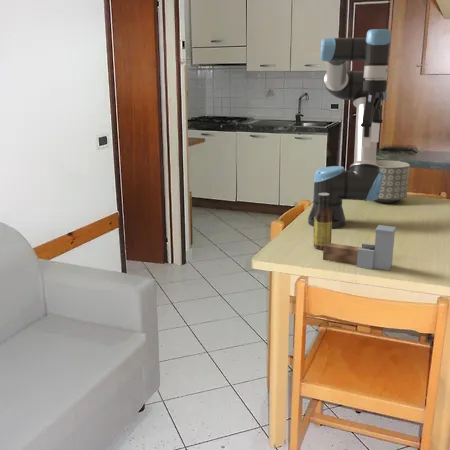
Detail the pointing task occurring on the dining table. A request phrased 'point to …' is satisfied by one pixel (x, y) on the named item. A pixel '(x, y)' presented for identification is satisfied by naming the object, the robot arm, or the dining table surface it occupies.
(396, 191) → the planter
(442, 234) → the dining table surface
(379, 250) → the grey notched block
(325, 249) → the rail
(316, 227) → the sauce bottle
